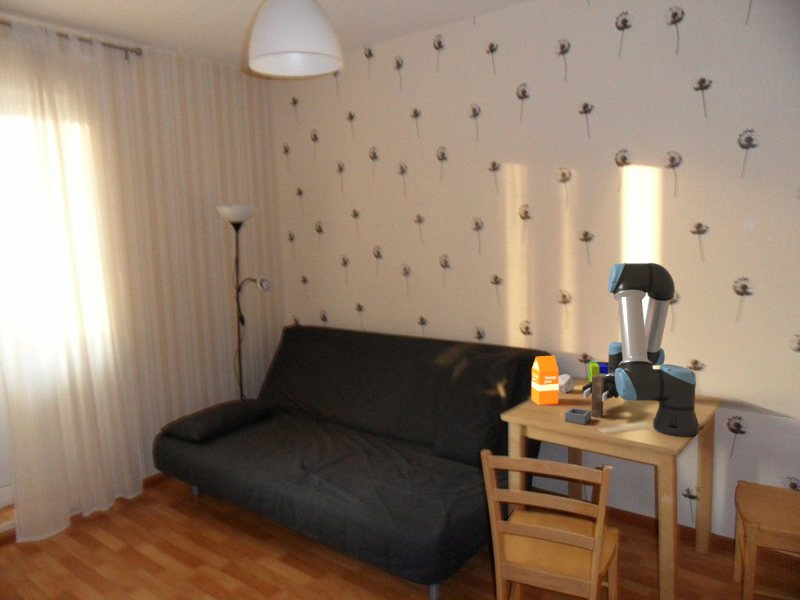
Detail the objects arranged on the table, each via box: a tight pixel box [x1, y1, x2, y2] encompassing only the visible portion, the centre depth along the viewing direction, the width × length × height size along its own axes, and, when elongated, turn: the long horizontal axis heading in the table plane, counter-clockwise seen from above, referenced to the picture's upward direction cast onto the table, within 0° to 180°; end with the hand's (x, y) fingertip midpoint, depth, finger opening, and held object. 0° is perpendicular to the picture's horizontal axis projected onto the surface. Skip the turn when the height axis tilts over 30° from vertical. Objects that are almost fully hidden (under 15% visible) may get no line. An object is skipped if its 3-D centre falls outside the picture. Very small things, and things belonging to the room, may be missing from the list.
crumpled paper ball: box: [558, 373, 576, 394], centre depth 256 cm, size 8×9×10 cm
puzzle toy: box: [588, 361, 609, 384], centre depth 266 cm, size 10×10×10 cm
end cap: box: [564, 407, 592, 426], centre depth 216 cm, size 8×8×4 cm
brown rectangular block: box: [590, 375, 604, 419], centre depth 221 cm, size 4×4×16 cm
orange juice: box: [531, 355, 559, 406], centre depth 240 cm, size 8×9×20 cm
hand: (593, 396), depth 216 cm, fingers open, 6 cm apart
